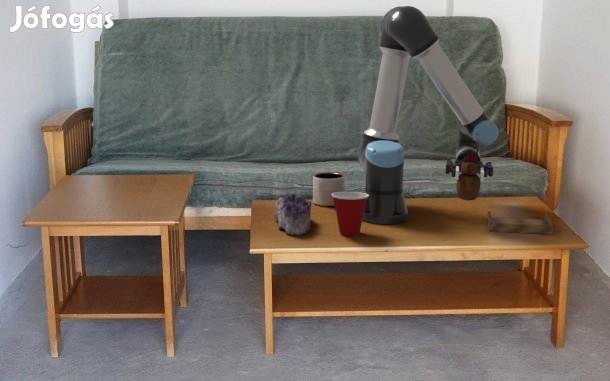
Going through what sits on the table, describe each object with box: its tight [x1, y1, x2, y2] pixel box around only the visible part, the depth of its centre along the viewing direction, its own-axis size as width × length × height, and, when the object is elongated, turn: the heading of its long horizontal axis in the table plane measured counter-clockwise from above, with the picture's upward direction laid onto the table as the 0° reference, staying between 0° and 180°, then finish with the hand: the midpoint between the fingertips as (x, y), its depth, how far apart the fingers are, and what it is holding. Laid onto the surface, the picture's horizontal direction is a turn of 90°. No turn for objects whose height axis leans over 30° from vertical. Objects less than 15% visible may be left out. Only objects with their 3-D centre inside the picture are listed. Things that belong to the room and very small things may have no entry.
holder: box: [486, 210, 554, 235], centre depth 208 cm, size 18×13×2 cm
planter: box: [312, 171, 346, 207], centre depth 235 cm, size 11×11×10 cm
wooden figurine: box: [455, 149, 481, 202], centre depth 202 cm, size 7×6×15 cm
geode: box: [274, 193, 312, 237], centre depth 209 cm, size 20×12×10 cm, turn 9°
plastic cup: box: [332, 191, 369, 237], centre depth 201 cm, size 11×11×12 cm
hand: (469, 176), depth 197 cm, fingers closed on wooden figurine, 6 cm apart
